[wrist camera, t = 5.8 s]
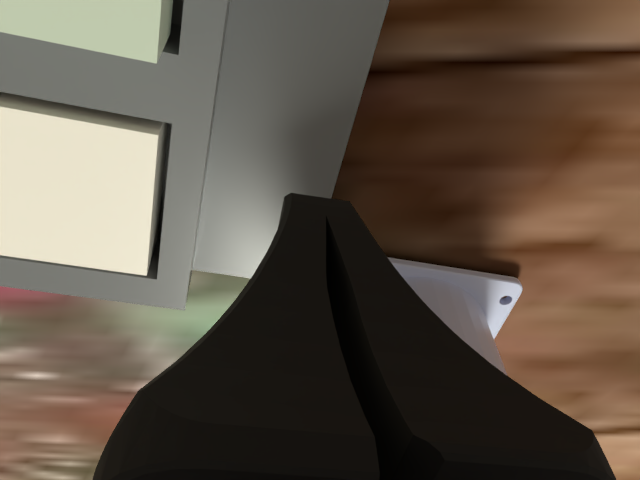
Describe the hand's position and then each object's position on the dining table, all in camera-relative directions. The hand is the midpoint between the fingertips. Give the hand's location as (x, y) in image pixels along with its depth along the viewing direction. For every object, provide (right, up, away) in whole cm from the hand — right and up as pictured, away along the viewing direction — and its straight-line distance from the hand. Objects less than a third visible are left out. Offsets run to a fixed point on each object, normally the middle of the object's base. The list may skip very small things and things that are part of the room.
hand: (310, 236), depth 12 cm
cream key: (-7, +2, +6) cm, 10 cm away
